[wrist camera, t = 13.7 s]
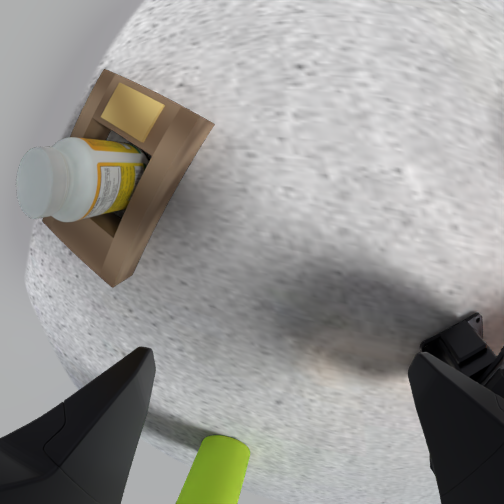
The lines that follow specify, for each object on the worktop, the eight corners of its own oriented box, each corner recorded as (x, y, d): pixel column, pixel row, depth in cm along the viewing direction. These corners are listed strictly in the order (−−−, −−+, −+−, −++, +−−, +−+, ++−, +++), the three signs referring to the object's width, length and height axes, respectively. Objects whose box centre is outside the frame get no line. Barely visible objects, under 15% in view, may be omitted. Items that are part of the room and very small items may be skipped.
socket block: (125, 77, 18) (101, 67, 15) (214, 124, 18) (198, 115, 15) (64, 215, 23) (40, 221, 19) (132, 275, 23) (110, 289, 19)
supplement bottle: (162, 189, 20) (72, 204, 11) (114, 219, 22) (26, 247, 12) (137, 130, 19) (46, 115, 10) (93, 164, 21) (4, 170, 12)
